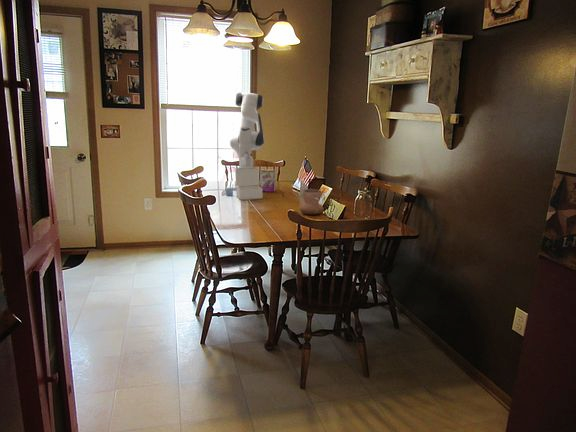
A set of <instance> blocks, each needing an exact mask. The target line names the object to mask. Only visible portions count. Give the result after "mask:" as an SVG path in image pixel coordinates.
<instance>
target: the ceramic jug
mask: <svg viewBox="0 0 576 432" xmlns="http://www.w3.org/2000/svg"><path fill="white" fill-rule="evenodd" d="M301 192H302V198H303V201H304V202H303V203H302V204H301V205H300V206H299V211H300V213H302V214H304V215H307V214H308V215H309V216H315V215H316V216H317V215H320V214H322V213H323V212H324V209H325V208H324V207H323V205H321V203H319V202H320V200H321V198H322V196H323V195H322V194H323V190H320V189H315V188H306V189H302V190H301Z"/></svg>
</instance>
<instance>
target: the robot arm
mask: <svg viewBox="0 0 576 432" xmlns="http://www.w3.org/2000/svg"><path fill="white" fill-rule="evenodd" d="M234 103H235V105H236V106H237V107H241V108H240V111H241V112H240V113H241V114H240V123H239V124H240V125H239V128H240V129H239V131H238V132H239V133H238V135H235V136H232V137H231V139H229V145H230V147H231V148H232V150H234V151H235V153H236V154H237V156H238V165H239V167H238V168H243V167H254V158H253V156H252V151H258V150H260V149H261V148H262V146H263V145H264V144H265V134H264V131H263V130H264V129H263V123H262V120H261V118H262V117H261V114H260V113H258V110H259V109H261V108H262V107H263V105H264V97H263V95H262V94H260V93H259V94H258V93H252V92H237V93H236V94H235V96H234ZM255 125H256V130H257V131H256V130H255ZM244 169H252V168H244ZM234 186H236V180H235V181H234ZM253 186H255V185H253Z"/></svg>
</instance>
